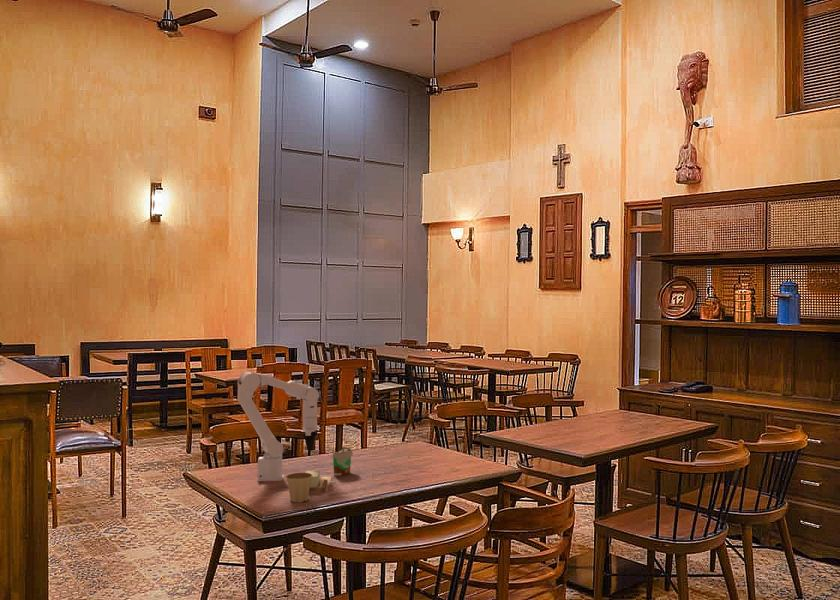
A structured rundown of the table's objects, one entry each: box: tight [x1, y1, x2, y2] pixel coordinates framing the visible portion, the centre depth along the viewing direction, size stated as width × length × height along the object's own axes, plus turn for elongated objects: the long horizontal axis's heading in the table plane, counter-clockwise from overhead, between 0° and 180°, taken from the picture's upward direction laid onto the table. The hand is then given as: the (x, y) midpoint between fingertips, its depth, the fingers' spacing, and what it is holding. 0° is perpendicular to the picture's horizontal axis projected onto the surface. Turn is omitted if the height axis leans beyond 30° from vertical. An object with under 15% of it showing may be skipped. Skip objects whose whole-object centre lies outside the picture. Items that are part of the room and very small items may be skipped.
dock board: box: [309, 476, 332, 494], centre depth 267 cm, size 12×23×2 cm, turn 3°
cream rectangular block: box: [305, 470, 321, 488], centre depth 262 cm, size 5×10×5 cm, turn 3°
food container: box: [332, 446, 354, 477], centre depth 283 cm, size 12×6×10 cm, turn 168°
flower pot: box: [285, 472, 313, 503], centre depth 247 cm, size 9×9×9 cm
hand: (310, 450), depth 283 cm, fingers closed
